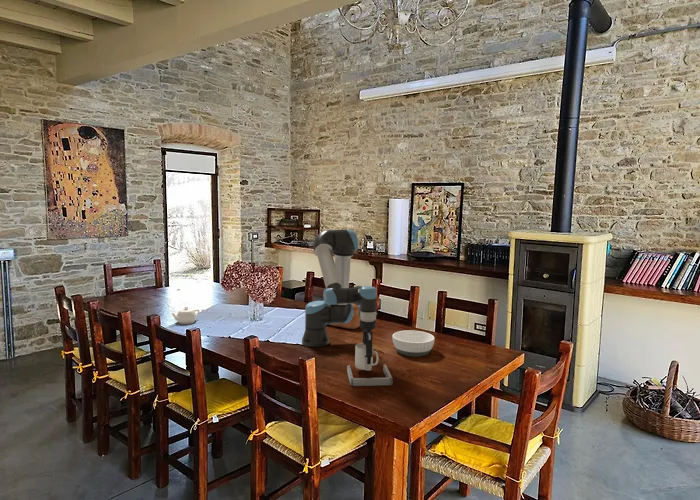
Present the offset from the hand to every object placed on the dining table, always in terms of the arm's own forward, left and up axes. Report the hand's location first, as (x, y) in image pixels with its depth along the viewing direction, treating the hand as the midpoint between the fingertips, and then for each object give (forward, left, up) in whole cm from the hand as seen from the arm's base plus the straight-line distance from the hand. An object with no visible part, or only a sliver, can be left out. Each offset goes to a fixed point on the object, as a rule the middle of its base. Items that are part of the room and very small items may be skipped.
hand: (366, 366), depth 217 cm
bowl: (+29, +28, -3) cm, 40 cm away
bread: (-6, +81, -3) cm, 81 cm away
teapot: (-105, +90, -3) cm, 138 cm away
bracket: (0, -8, -3) cm, 8 cm away
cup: (0, -1, 0) cm, 1 cm away
